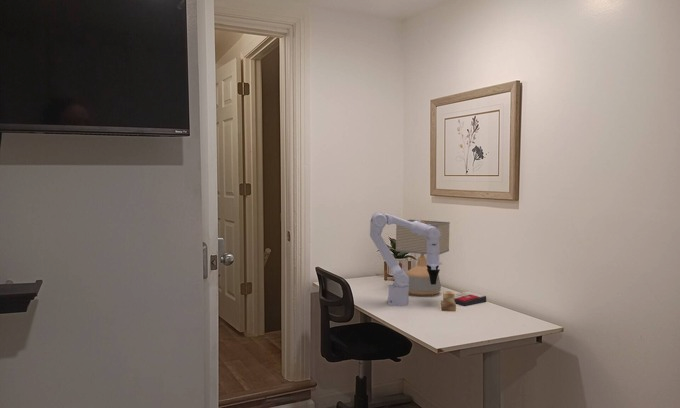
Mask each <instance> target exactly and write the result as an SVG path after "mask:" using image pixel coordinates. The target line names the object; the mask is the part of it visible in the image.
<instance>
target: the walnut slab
mask: <svg viewBox="0 0 680 408" xmlns="http://www.w3.org/2000/svg"><path fill="white" fill-rule="evenodd" d="M440 307H441V310H442V311H441V312H444V311H455V312H454V313H457V312H456V309H457V304H456V303H455V301H454V304H444V303H443V300H440Z"/></svg>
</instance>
